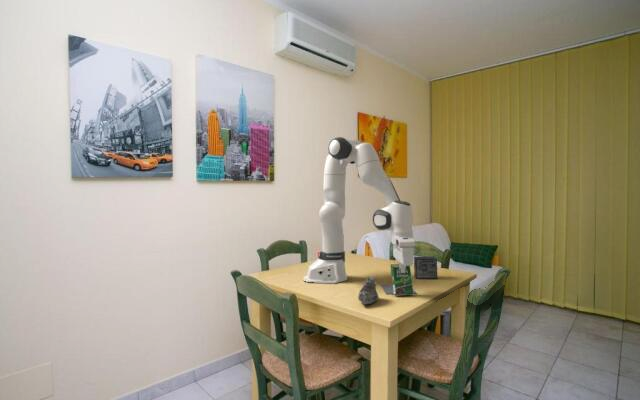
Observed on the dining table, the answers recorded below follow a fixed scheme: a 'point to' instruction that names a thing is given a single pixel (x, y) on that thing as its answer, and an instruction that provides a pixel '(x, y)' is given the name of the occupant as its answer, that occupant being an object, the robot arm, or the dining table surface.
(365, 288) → the mineral rock
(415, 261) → the small box
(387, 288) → the mat
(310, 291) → the dining table surface
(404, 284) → the coffee box
